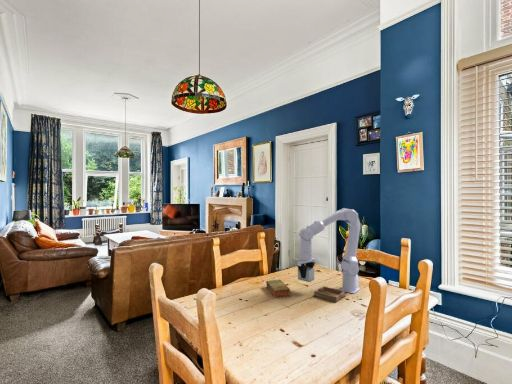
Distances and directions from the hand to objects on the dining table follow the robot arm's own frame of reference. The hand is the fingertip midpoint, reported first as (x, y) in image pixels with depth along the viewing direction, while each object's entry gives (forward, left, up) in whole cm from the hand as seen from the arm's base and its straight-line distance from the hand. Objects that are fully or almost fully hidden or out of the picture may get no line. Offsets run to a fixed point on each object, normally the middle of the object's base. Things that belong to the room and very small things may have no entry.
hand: (306, 276), depth 144 cm
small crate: (0, 0, -2) cm, 2 cm away
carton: (+9, -12, -9) cm, 17 cm away
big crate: (-3, +12, -8) cm, 15 cm away
